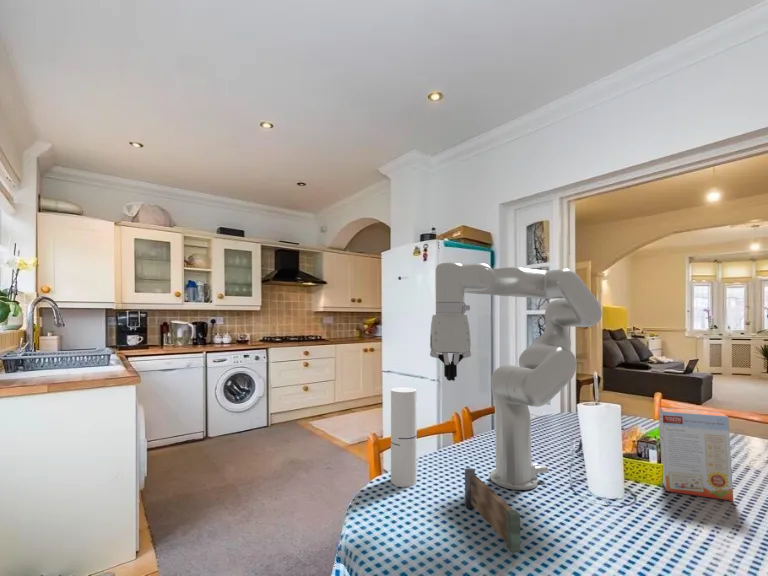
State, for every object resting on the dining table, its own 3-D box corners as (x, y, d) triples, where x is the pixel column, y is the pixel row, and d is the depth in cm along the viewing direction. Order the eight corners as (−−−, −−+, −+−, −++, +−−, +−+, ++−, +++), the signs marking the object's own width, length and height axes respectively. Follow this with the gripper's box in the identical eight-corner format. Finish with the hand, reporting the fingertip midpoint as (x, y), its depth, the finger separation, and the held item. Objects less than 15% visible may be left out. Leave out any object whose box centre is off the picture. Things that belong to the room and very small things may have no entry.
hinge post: (472, 503, 97) (472, 467, 97) (476, 508, 95) (476, 471, 95) (463, 504, 96) (463, 468, 97) (467, 509, 94) (467, 472, 95)
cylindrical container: (415, 488, 105) (414, 392, 107) (388, 485, 107) (388, 391, 108) (418, 477, 112) (417, 387, 114) (393, 475, 114) (393, 386, 115)
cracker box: (725, 492, 103) (721, 411, 105) (734, 502, 98) (730, 416, 99) (661, 482, 109) (658, 405, 110) (665, 491, 104) (662, 410, 105)
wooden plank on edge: (469, 505, 94) (469, 475, 94) (476, 505, 94) (476, 474, 94) (511, 553, 75) (511, 515, 76) (520, 551, 76) (519, 514, 76)
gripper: (474, 309, 109) (475, 377, 108) (420, 309, 108) (420, 377, 107) (482, 309, 101) (482, 382, 100) (423, 309, 101) (424, 382, 100)
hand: (450, 379), depth 104 cm, fingers closed
